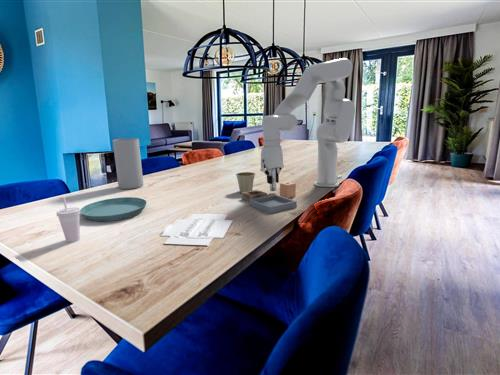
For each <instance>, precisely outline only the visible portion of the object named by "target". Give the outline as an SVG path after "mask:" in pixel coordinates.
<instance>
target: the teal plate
mask: <svg viewBox="0 0 500 375" xmlns="http://www.w3.org/2000/svg"><path fill="white" fill-rule="evenodd" d="M146 205H147V200H146V199H144V198H140V197H134V196H127V197H124V196H122V197H115V198H108V199H107V198H106V199H101V200H97V201H94V202H91V203H88V204H86V205H85V206H83V207H82V208H80V213H79V214H81V215H82V216H83V217H84V218H86V219H88V220H90V221H95V222H112V221H120V220H125V219H128V218H131V217H132V218H133V217H134V216H136V215H138V214H140V213H141V212H142V211H143V210H145V208H146Z"/></svg>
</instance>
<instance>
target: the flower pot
mask: <svg viewBox="0 0 500 375" xmlns="http://www.w3.org/2000/svg"><path fill="white" fill-rule="evenodd" d="M235 176H236V179H237V183H238V188H239V192H240V193H242V192H247V191H252V190H254V189H253V187H254V180H255V179H254V178H255V176H256V173H255V172H252V171H251V172H250V171H245V172H244V171H243V172H242V171H241V172H237V173H236V174H235Z"/></svg>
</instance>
